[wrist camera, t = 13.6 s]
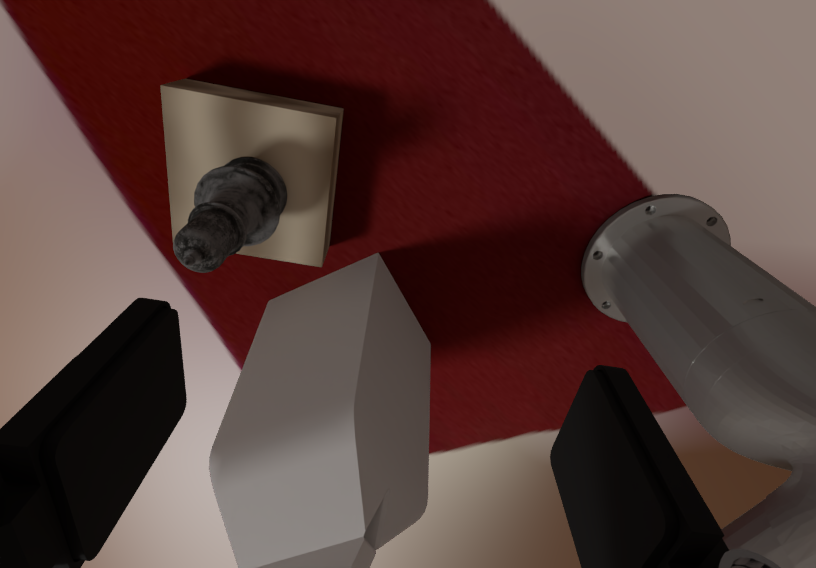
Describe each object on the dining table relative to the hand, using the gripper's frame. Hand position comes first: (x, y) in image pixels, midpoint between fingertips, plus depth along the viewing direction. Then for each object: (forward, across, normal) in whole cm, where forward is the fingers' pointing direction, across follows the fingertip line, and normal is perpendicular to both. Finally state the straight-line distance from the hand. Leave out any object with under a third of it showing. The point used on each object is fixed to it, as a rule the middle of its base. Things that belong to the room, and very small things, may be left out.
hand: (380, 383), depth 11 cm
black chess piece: (+26, +11, +6) cm, 29 cm away
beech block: (+30, +11, +5) cm, 32 cm away
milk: (+30, +3, +19) cm, 36 cm away
